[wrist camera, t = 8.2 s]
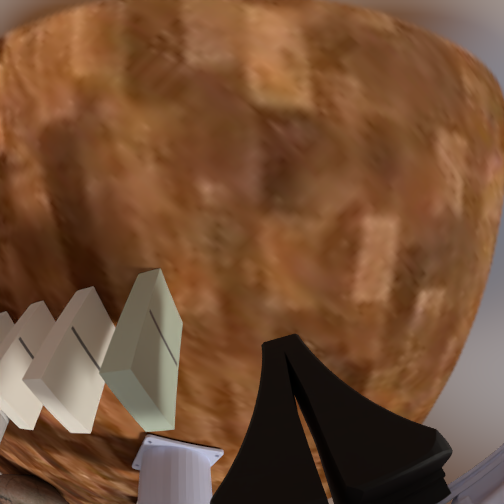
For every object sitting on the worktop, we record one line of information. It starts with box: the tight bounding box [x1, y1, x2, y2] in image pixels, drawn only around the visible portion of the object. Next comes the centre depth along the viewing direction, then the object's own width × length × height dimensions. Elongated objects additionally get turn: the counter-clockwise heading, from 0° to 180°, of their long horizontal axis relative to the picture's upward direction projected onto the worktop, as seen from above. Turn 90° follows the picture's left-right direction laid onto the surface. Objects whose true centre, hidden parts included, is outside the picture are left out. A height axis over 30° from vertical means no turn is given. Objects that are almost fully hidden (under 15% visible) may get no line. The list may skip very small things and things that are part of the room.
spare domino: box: [99, 268, 183, 432], centre depth 13 cm, size 1×4×8 cm, turn 12°
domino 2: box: [22, 286, 115, 433], centre depth 13 cm, size 1×4×8 cm, turn 13°
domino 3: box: [0, 300, 55, 430], centre depth 13 cm, size 1×4×8 cm, turn 13°
